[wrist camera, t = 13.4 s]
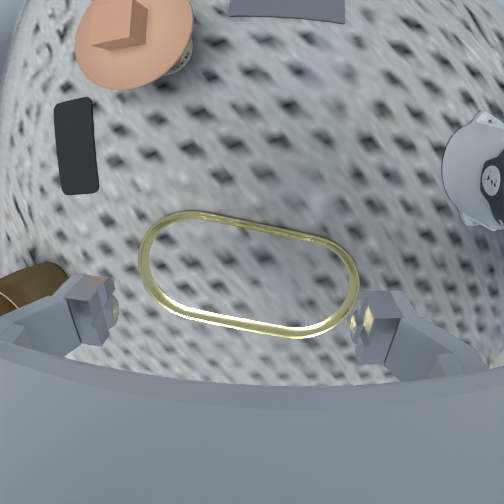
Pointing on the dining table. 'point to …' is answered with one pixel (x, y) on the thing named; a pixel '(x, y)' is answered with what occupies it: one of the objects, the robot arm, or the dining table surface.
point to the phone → (76, 146)
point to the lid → (132, 40)
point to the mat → (291, 9)
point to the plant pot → (29, 286)
